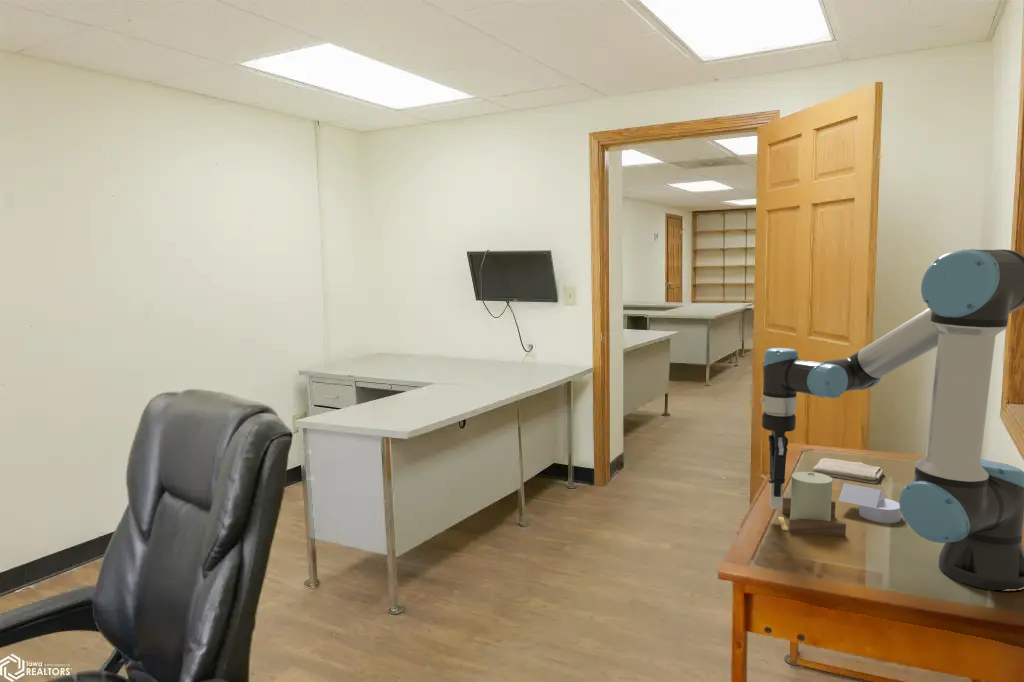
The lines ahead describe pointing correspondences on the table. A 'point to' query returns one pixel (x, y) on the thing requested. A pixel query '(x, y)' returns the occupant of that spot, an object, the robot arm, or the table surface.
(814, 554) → the table surface
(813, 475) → the can
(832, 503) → the channel
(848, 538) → the table surface
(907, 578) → the table surface
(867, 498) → the wedge on round base
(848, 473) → the washcloth
